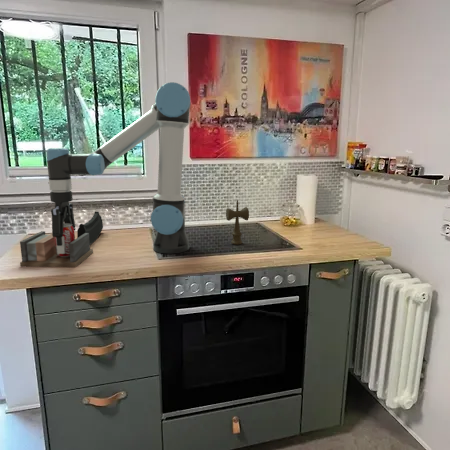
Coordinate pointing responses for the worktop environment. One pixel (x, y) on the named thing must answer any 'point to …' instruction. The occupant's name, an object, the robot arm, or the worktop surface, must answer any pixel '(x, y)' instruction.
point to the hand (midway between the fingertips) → (66, 250)
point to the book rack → (53, 251)
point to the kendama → (237, 222)
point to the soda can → (67, 238)
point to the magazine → (91, 227)
